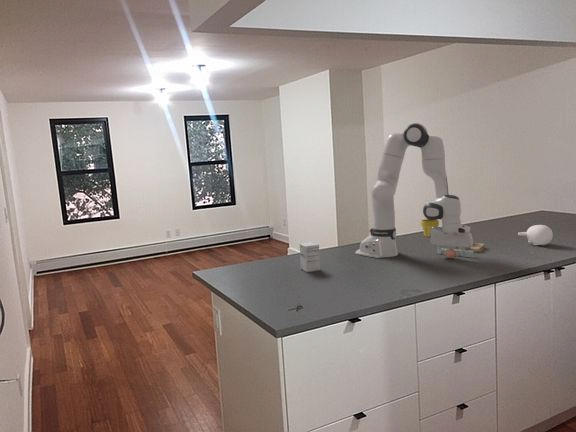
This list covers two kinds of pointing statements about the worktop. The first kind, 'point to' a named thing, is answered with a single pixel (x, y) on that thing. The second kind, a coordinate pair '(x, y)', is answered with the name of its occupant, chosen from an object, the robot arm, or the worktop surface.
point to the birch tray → (474, 248)
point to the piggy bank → (538, 234)
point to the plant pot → (428, 226)
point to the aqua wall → (465, 253)
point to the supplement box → (309, 256)
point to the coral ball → (450, 253)
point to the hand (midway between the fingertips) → (451, 254)
